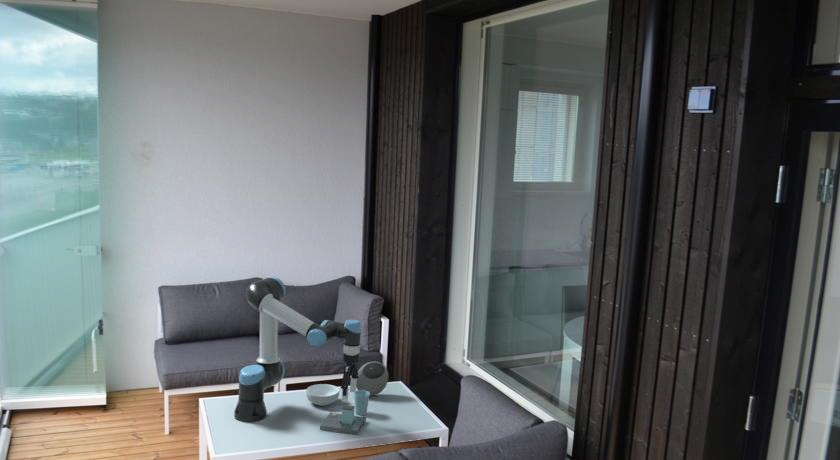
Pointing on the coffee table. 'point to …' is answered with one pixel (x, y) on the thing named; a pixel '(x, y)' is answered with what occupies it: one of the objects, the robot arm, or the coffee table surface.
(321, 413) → the coffee table surface
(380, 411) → the coffee table surface
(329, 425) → the socket plate
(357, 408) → the cup
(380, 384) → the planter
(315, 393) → the cereal bowl
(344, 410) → the plug
